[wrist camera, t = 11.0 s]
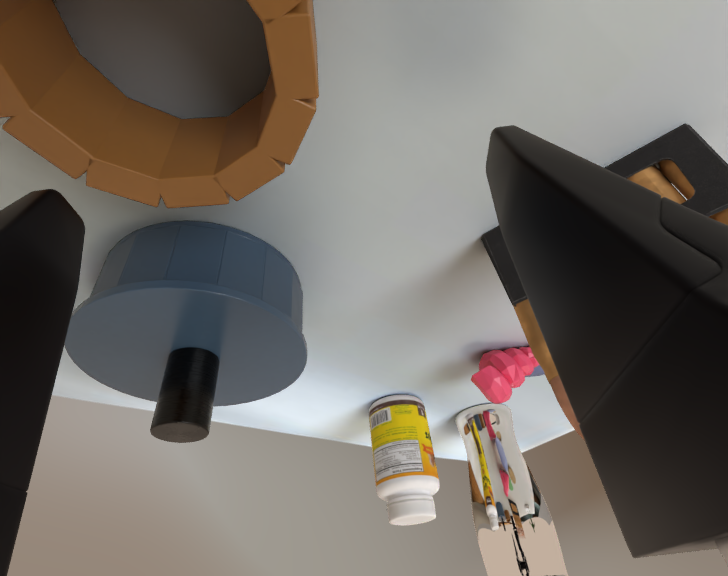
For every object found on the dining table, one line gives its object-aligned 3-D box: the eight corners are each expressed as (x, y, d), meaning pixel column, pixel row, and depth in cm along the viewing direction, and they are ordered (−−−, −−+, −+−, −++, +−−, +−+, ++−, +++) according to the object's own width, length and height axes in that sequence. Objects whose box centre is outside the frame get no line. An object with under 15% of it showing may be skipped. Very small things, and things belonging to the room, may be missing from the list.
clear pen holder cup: (504, 394, 41) (563, 576, 32) (521, 415, 46) (577, 578, 36) (440, 414, 44) (477, 588, 34) (463, 431, 48) (501, 588, 39)
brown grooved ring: (-73, -38, 13) (-176, 7, 10) (139, -332, 9) (70, -382, 6) (186, 182, 19) (167, 245, 17) (365, 61, 16) (377, 115, 13)
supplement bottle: (418, 414, 43) (438, 524, 37) (365, 417, 43) (376, 530, 36) (428, 390, 39) (452, 510, 32) (370, 393, 38) (383, 516, 32)
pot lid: (19, 332, 21) (-34, 432, 18) (186, 228, 17) (156, 335, 13) (204, 407, 29) (191, 484, 26) (347, 350, 25) (353, 434, 22)
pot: (61, 278, 23) (28, 344, 21) (202, 184, 19) (185, 250, 17) (213, 356, 31) (203, 412, 28) (335, 300, 27) (339, 359, 24)
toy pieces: (491, 389, 40) (504, 434, 37) (453, 338, 32) (467, 390, 29) (624, 350, 36) (650, 396, 33) (618, 281, 28) (652, 335, 25)
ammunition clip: (493, 253, 25) (574, 456, 17) (479, 236, 24) (561, 446, 16) (691, 149, 20) (922, 362, 13) (687, 122, 19) (938, 339, 12)
